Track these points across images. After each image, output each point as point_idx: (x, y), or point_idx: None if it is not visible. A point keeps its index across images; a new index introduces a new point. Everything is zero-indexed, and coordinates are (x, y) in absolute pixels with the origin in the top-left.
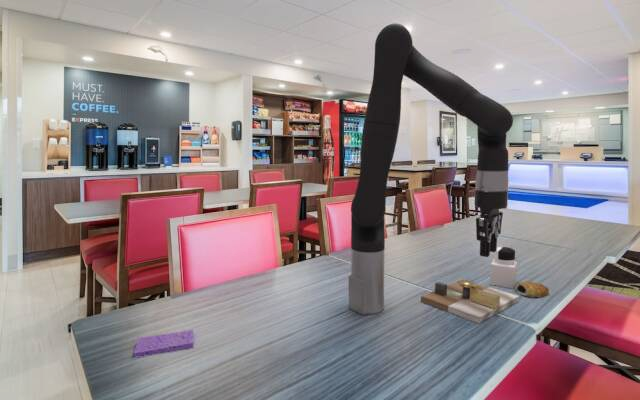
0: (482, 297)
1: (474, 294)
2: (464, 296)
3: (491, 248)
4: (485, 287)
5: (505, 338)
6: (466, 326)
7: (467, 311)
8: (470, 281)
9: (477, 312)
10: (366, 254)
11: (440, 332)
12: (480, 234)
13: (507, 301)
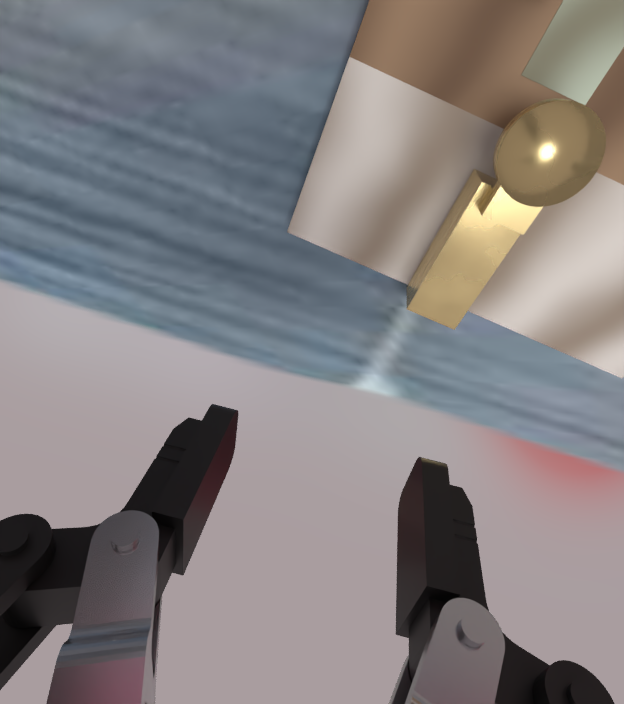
0: (438, 247)
1: (464, 204)
2: None
3: (410, 502)
4: None
5: (225, 311)
6: (238, 178)
7: (326, 174)
8: (575, 180)
9: (337, 220)
10: None
11: (117, 80)
12: (77, 604)
13: (530, 333)
